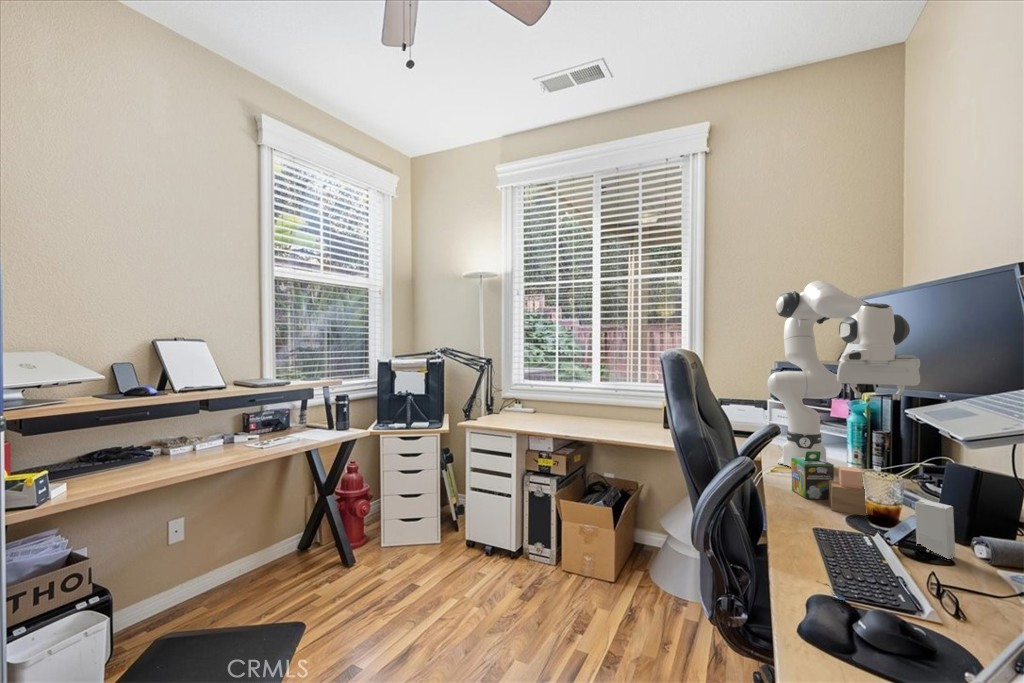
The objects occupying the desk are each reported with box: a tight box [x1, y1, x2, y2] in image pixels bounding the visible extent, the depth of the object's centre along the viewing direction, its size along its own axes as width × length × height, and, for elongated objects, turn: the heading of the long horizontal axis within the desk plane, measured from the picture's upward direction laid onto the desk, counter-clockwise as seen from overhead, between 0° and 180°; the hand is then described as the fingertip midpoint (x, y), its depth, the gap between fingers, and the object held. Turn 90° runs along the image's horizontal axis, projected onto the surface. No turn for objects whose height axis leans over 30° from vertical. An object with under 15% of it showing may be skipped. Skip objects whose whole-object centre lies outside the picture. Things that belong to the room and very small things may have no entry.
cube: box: [838, 465, 863, 489], centre depth 137 cm, size 5×5×5 cm
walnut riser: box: [828, 479, 867, 517], centre depth 137 cm, size 8×10×7 cm
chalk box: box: [790, 451, 835, 500], centre depth 150 cm, size 9×9×15 cm
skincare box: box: [914, 498, 956, 560], centre depth 108 cm, size 6×4×12 cm
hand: (876, 398), depth 141 cm, fingers open, 8 cm apart
